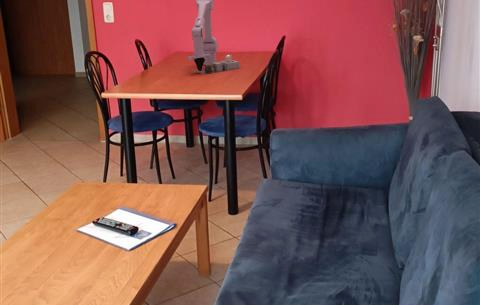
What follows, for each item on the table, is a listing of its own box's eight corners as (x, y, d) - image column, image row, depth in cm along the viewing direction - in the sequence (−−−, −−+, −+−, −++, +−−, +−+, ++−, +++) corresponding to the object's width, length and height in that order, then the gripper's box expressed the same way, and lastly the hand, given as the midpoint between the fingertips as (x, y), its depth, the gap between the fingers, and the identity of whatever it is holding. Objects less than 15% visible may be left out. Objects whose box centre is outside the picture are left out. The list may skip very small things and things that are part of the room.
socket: (219, 68, 355) (218, 61, 354) (230, 66, 360) (230, 59, 359) (227, 70, 348) (227, 63, 347) (239, 68, 353) (239, 61, 352)
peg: (229, 67, 357) (228, 54, 354) (233, 67, 354) (232, 55, 351) (224, 68, 354) (223, 55, 352) (228, 69, 351) (227, 56, 349)
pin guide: (212, 69, 350) (211, 62, 349) (217, 69, 352) (217, 62, 351) (217, 71, 346) (216, 64, 344) (222, 70, 348) (222, 63, 347)
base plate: (191, 72, 350) (191, 70, 350) (226, 66, 365) (226, 64, 365) (206, 76, 338) (206, 74, 338) (241, 69, 353) (241, 68, 352)
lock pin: (205, 71, 346) (204, 65, 344) (219, 69, 352) (219, 63, 351) (207, 72, 343) (207, 66, 342) (222, 69, 350) (222, 63, 349)
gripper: (192, 50, 330) (193, 73, 334) (212, 47, 338) (213, 69, 343) (185, 48, 335) (186, 71, 340) (206, 45, 343) (207, 68, 348)
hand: (199, 70), depth 342 cm, fingers closed
